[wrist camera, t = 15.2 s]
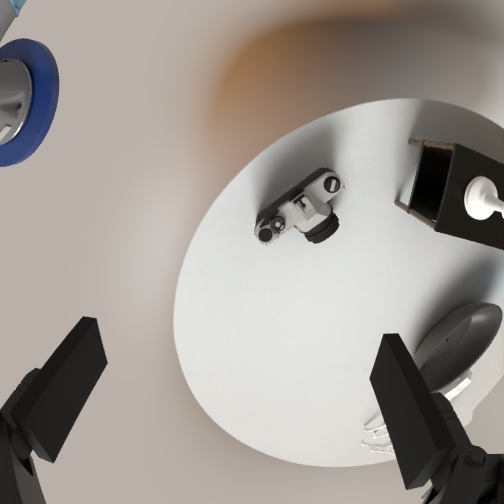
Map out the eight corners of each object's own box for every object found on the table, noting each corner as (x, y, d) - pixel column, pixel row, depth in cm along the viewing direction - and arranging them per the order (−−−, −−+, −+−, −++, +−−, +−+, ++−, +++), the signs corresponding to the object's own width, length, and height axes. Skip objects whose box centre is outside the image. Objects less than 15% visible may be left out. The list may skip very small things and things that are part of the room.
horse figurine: (378, 400, 68) (473, 366, 53) (370, 460, 56) (478, 435, 40) (368, 391, 67) (466, 355, 52) (358, 454, 55) (471, 427, 39)
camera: (283, 258, 47) (292, 282, 39) (248, 218, 45) (249, 235, 37) (352, 200, 45) (376, 213, 36) (319, 158, 43) (337, 161, 34)
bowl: (384, 361, 53) (394, 383, 47) (469, 273, 47) (487, 289, 41) (418, 384, 55) (428, 405, 50) (494, 308, 49) (511, 324, 43)
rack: (393, 204, 44) (435, 231, 31) (408, 138, 40) (456, 143, 28) (509, 238, 44) (555, 266, 31) (523, 185, 40) (573, 203, 28)
